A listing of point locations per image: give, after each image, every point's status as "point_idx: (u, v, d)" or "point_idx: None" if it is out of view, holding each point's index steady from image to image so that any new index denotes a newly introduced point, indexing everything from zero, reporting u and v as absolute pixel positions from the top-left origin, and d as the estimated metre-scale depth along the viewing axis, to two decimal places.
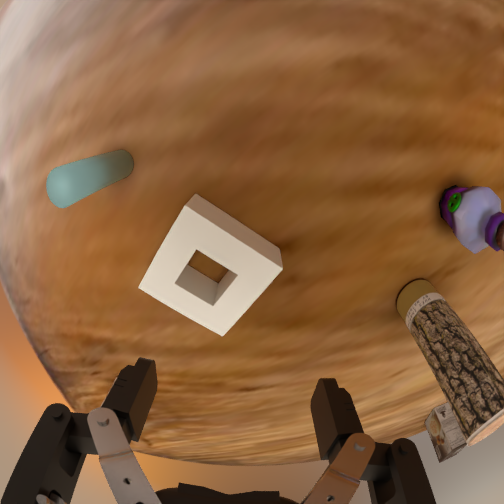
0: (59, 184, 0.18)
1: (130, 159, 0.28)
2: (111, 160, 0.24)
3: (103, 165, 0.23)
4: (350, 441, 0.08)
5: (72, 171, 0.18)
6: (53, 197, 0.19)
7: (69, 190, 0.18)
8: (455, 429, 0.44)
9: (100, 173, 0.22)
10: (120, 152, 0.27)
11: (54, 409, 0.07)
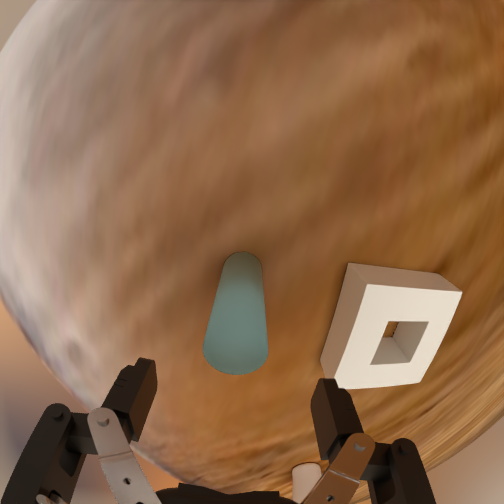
0: (232, 349, 0.14)
1: (256, 259, 0.25)
2: (252, 274, 0.21)
3: (254, 286, 0.19)
4: (350, 441, 0.08)
5: (247, 324, 0.14)
6: (225, 367, 0.15)
7: (256, 349, 0.14)
8: None
9: (261, 301, 0.18)
10: (242, 257, 0.24)
11: (54, 409, 0.07)
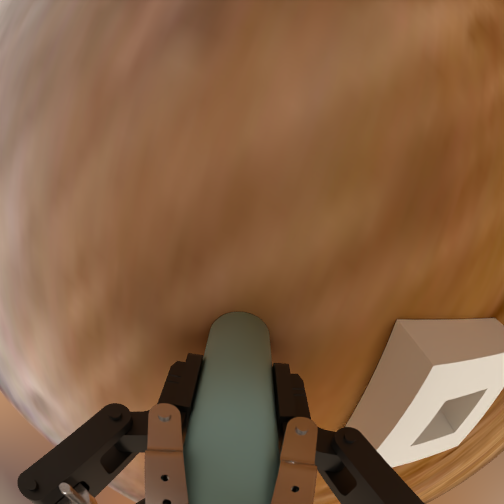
0: None
1: (261, 325, 0.15)
2: (255, 370, 0.11)
3: (258, 403, 0.09)
4: (291, 424, 0.09)
5: None
6: None
7: None
8: None
9: (272, 434, 0.08)
10: (239, 326, 0.14)
11: (113, 409, 0.08)
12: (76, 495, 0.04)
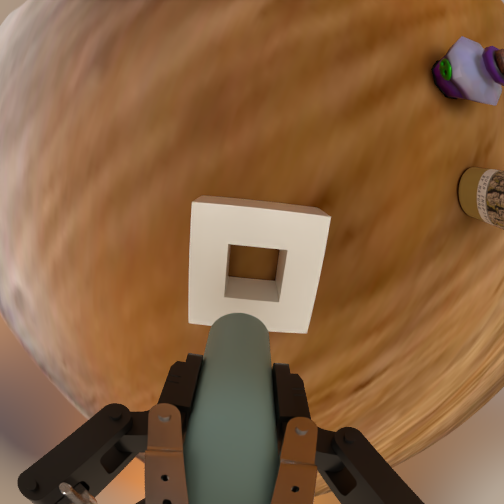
0: None
1: (261, 326, 0.15)
2: (254, 372, 0.11)
3: (258, 405, 0.09)
4: (291, 424, 0.09)
5: None
6: None
7: None
8: None
9: (271, 434, 0.08)
10: (238, 327, 0.14)
11: (113, 409, 0.08)
12: (76, 495, 0.04)
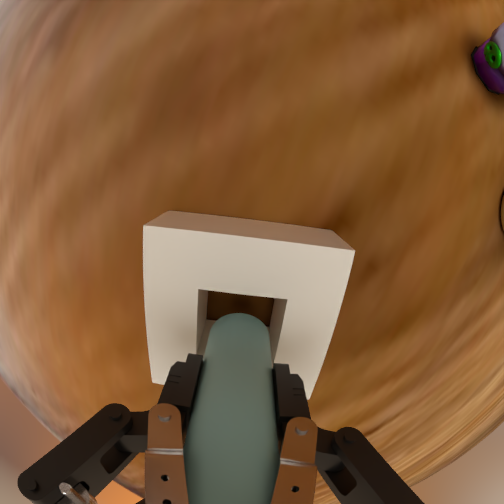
0: None
1: (261, 326, 0.15)
2: (254, 372, 0.11)
3: (258, 405, 0.09)
4: (291, 424, 0.09)
5: None
6: None
7: None
8: None
9: (272, 435, 0.08)
10: (238, 327, 0.14)
11: (113, 409, 0.08)
12: (76, 495, 0.04)
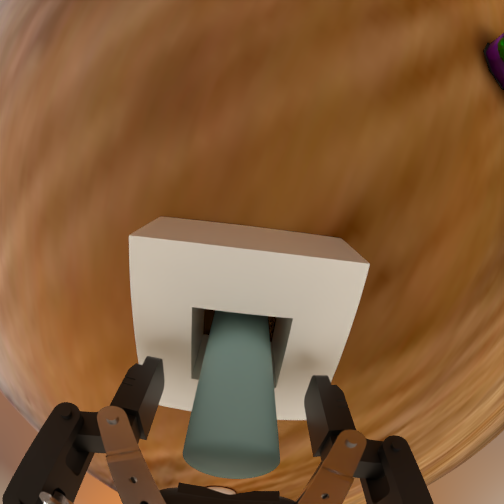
0: (226, 459, 0.08)
1: None
2: (254, 328, 0.14)
3: (257, 350, 0.13)
4: (341, 437, 0.08)
5: (249, 433, 0.08)
6: (218, 472, 0.08)
7: (261, 459, 0.08)
8: None
9: (269, 374, 0.12)
10: None
11: (62, 408, 0.07)
12: (57, 502, 0.04)
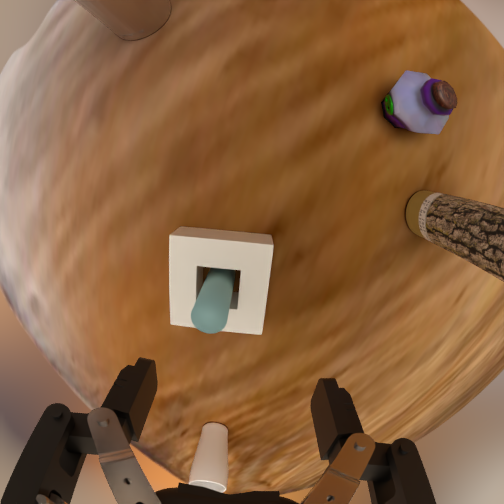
0: (207, 316, 0.26)
1: None
2: (224, 275, 0.32)
3: (224, 282, 0.31)
4: (350, 441, 0.08)
5: (214, 301, 0.26)
6: (204, 328, 0.26)
7: (220, 316, 0.26)
8: None
9: (227, 291, 0.30)
10: None
11: (53, 409, 0.07)
12: None
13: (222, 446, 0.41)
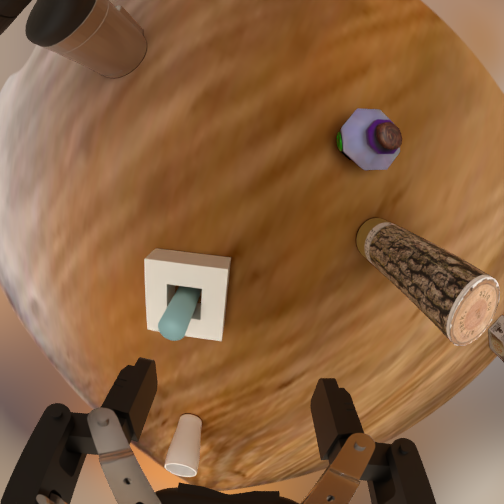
0: (170, 327, 0.32)
1: None
2: (189, 292, 0.38)
3: (187, 299, 0.37)
4: (350, 441, 0.08)
5: (175, 316, 0.32)
6: (168, 336, 0.32)
7: (180, 328, 0.32)
8: None
9: (189, 306, 0.36)
10: None
11: (54, 409, 0.07)
12: None
13: (195, 435, 0.47)
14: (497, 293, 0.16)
